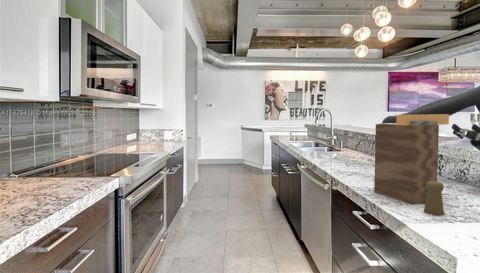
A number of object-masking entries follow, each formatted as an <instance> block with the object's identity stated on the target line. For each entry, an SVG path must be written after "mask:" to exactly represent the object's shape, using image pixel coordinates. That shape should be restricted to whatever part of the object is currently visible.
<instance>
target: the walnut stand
mask: <svg viewBox="0 0 480 273" xmlns="http://www.w3.org/2000/svg"><path fill="white" fill-rule="evenodd" d="M439 129H440V125H437V121H411V125H396V123H382V122H381V123H376V124H375V135H374V136H375V137H374V138H375V139H374V140H375V141H374V142H375V144H374V147H375V148H374V186H373V187H374V190H373V193H376V194H379V195H382V196H385V197H388V198H391V199H395V200H398V201H400V202H403V203H406V204H409V205H419V204H425V202H426V196H427V191H428V190H427V189H426V183H427V182H429V181H438V162H439V138H440V137H439V136H440V135H439V133H440V132H439V131H440V130H439Z"/></svg>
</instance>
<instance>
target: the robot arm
mask: <svg viewBox="0 0 480 273" xmlns="http://www.w3.org/2000/svg"><path fill="white" fill-rule="evenodd" d="M473 106H474V107H475V108H476V109H477V111H478V112H479V114H480V85H479V86H476V87H475V88H472V89H470V90H467V91H465V92H462V93H458V94H456V95H452V96H449V97H445V98H442V99H439V100H438V99H437V100H435V101H432V102H429V103H426V104H424V105H421V106H420V107H416V108H415V109H413V110H411V111H408V112H404V113H400V114H399V115H429V114H449V117H451V116H453V115H454V114H456V113H459V112H461V111H463V110H465V109H467V108H470V107H473ZM397 115H398V114H395V115H388V116H385V117H384V119H383V120H382V122H381V124H382V123H396V120H397ZM450 127H451V129H452V130H453V131H452V135H454V136H456V137H458V138H459V139H461V140H463V139H464V138H466V139H467V140H468V141H469V142H470V144H471V145H472V147H474V148H475V149H477V150H478V151H479V152H480V126H479V125H477V124H476V123H475V124H472V126H471V130H470V129H468V128H461V127H460V126H459V125H458V124H456V123H453V124H452V125H451V126H450Z"/></svg>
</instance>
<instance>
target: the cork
mask: <svg viewBox="0 0 480 273" xmlns="http://www.w3.org/2000/svg"><path fill="white" fill-rule="evenodd" d="M444 188H445V186H444V184H443V183H442V182H441V181H438V180H437V181H429V182H427V183H426V189H427V190H428V191H427V196H426V202H425V203H424V209H423V213H425V214H427V213H428V215H430V214H432V215H431V216H443V215H445V211H444V210H445V209H444V201H443V193H442V192H443V190H444Z"/></svg>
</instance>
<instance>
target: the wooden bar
mask: <svg viewBox="0 0 480 273" xmlns="http://www.w3.org/2000/svg"><path fill="white" fill-rule="evenodd" d="M396 115H397V120H396V125H411V121H437V125H439V126H441V125H442V126H443V125H449V122H450V116H449V114H429V115H400V114H396Z"/></svg>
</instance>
